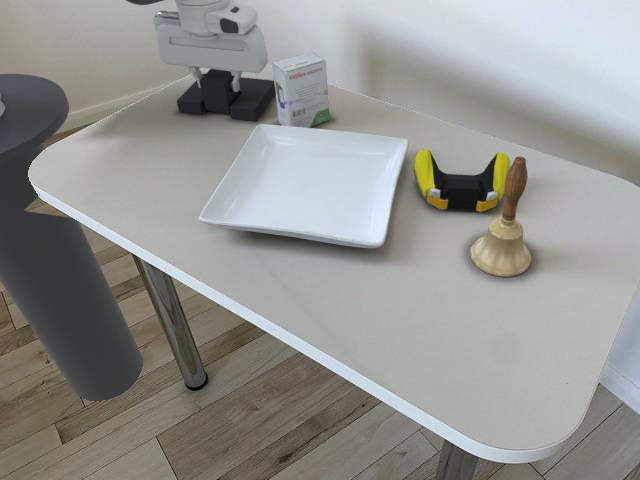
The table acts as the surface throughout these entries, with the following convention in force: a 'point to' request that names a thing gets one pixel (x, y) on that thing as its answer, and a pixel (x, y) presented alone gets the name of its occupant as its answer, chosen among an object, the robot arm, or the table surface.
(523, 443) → the table surface
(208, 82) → the black block
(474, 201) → the gaming controller
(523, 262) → the hand bell
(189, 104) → the base pad
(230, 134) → the table surface
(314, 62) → the ink box
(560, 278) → the table surface
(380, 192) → the square plate
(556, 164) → the table surface
